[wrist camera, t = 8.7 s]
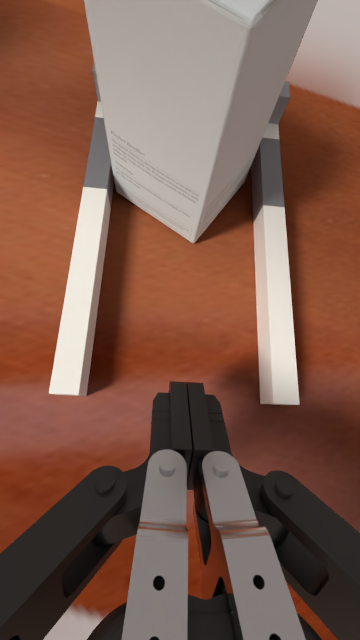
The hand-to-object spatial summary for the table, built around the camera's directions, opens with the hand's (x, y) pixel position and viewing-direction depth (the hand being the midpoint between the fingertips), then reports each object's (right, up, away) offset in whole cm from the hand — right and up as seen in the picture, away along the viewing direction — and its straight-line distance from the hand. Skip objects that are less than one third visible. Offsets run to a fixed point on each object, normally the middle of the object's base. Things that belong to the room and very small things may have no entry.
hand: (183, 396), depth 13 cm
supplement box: (0, +14, +9) cm, 16 cm away
